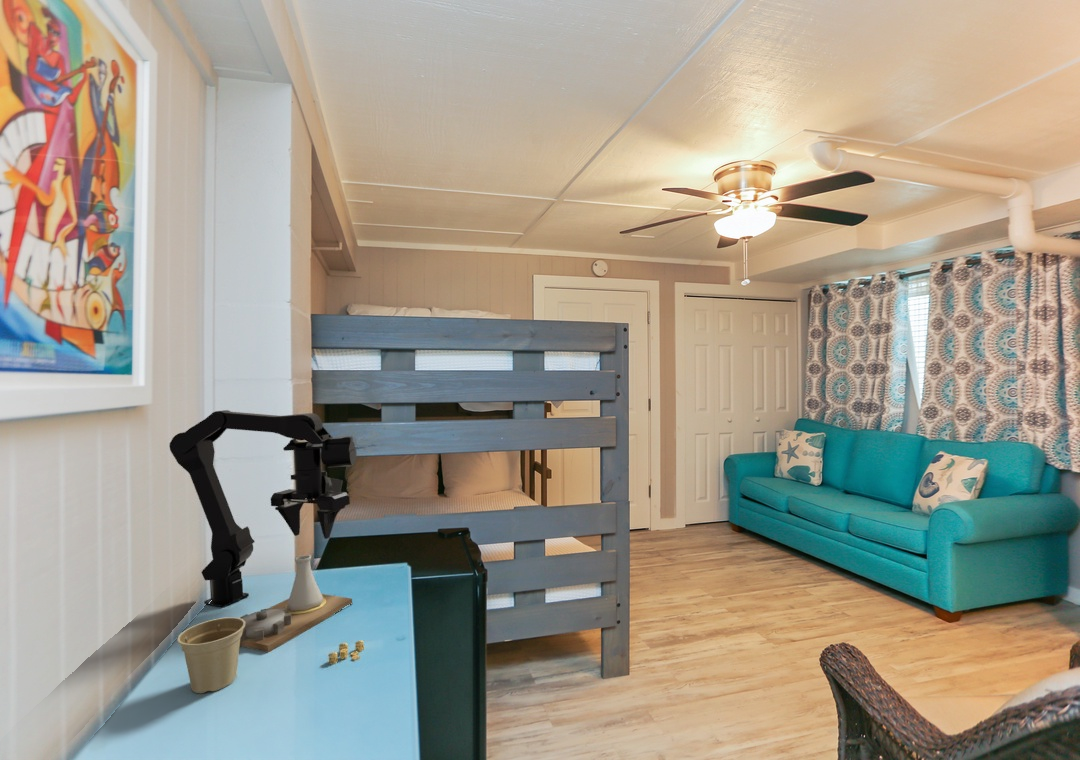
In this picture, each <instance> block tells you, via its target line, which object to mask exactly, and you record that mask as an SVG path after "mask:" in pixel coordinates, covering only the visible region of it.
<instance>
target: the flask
mask: <svg viewBox="0 0 1080 760" xmlns="http://www.w3.org/2000/svg"><path fill="white" fill-rule="evenodd" d="M311 559H312V555H310V554H302V555H299V556H296V557H295V558H294V561H295V563H296V570H295V577H294V581H293V585H292V588H291V592H290V593H289V594H290V595H289V598H288V599H289V600H288V604H287V607H286V608H288V609H289V610H291V611H298V610H306V609H310V608H312V607H315V606H318V605H321V603H322V601H323V600H324V598H323V596H322V594H323V593H322V592H321V590H320V588H319V586H318V584H317V582H316V578H315V576H314V574H313V571H312V567H311Z"/></svg>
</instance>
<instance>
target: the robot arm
mask: <svg viewBox="0 0 1080 760" xmlns="http://www.w3.org/2000/svg"><path fill="white" fill-rule="evenodd" d="M323 425H324V424H323V421H322V419H321V417H320V416H319V415H318V414H316V413H311V412H309V413H297V414H287V415H275V414H263V413H253V412H252V413H251V412H242V411H241V412H240V411H238V412H237V411H231V410H227V409H226V410H217V411H213V412H212V413H211V414H209V415H208V416H207V417H205V419H203V420H201V421H199V422H198V423H196V424H195V425H193V426H191V427H190V428H188V429H187V430H185V431H184V432H179V433H177V434H175V435H174V436H173V437H172V439H171V441H170V442H169V451H170V452H171V454H172V456H173V458H174V459H175V461H176V462H177V464H178V465H179V466H181V468H182V469H184V470H185V471H186V472H187V473H188V474H189V477H190V479H191V482H192V484H193V486H194V489H195V493H196V495H197V497H198V499H199V503H200V505H201V507H202V509H203V513H204V515H205V518H206V520H207V522H208V526H209V528H210V530H211V540H210V550H211V555H212V560H210V562H209V563H208V564H207V565H206V566H205V567H204V568H203V569H202V570H201V575H202V578H203V579H204V581H209V591H210V592H209V593H210V598H209V599H208V598H207V599H205V600H204V601H203V603H204V604H205V605H209V604H208V603H209V602H210V601H211V600H212V601H211V602H210V604H212V605H211V606H215V607H219V608H224V607H227V606H228V605H231V604H233V603H235V602H238V601H241V600H242V599H245V598H247V597H249V596H250V594H249V592H244V591H243V590H244V588H243V577H242V571H241V568H242V567H244V566H246V562H247V560H248V559H249V558H250V557H251V556H252V554H253V552H254V545H253V544H254V543H256V542H255V539H253V538H252V536H251V530H250V527H249V526H244V527H243V528H241V526H239V525H238V524H237V523H236V521H235V519H234V516H233V514H232V511H231V509H230V508H231V507H230V505H229V503H228V500H227V497H226V496H225V495H226V494H225V493H224V490H223V488H222V484H221V481H220V480H219V477H218V474H217V471H216V470H215V465H214V463H215V462H214V461H215V448H214V446H215V445H214V442H216V440H218V439H219V438H221V436H222V435H223V433H225V432H226V431H227V430H239V431H249V432H250V431H251V432H263V433H274V434H277V435H280V436H282V437H285V438H289V439H290V440H289V442H288V444H286V445H285V446H284V447H283V451H284V452H285V451H293V465H294V467H293V468H294V474H290V480H294V486H295V489H285V490H282V491H278V492H274V493H272V496H271V497H270V506H271V507H274V509H275V511H278V513H279V514H280V515H281V517H282V519H283V520H284V521H285V522H286V524H287V527H289V529H290V531H291V532H292V534H293V535H294V536H295V537H297V536H299V535H300V531H301V530H300V529H301V509H302V507H303V506H304V505H305V504H316V506H317V508H318V509H319V510H316V512H317V516H318V521H319V525H320V527H321V533H322V534H323V539H326V540H327V539H329V538H330V537H331V533H332V530H333V527H334V524H335V521H336V518H337V516H338V514H339V512H340V511H341V510H343V509H345V508H346V506H348V505H350V503H351V501H350V499H351V498H350V495H349V494H348V492H346V491H342V486H343V482H344V481H343V480H342V479H337V478H332V477H328V472H327V471H326V470H323V465H326V467H327V468H341V467H343V468H344V467H353V466H354V467H355V466H356V463H357V449H356V446H355V443H354V440H353V436H352V435H349V436H344V437H333V435H331V434H330V432H329V431H328V430H327V429H326V428H325V427H324V426H323ZM322 464H323V465H322Z"/></svg>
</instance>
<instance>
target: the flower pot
mask: <svg viewBox="0 0 1080 760" xmlns="http://www.w3.org/2000/svg"><path fill="white" fill-rule="evenodd" d="M244 627H245V621H244V620H243V619H241V618H240V617H233V616H232V617H231V616H230V617H229V616H228V617H220V618H215V619H211V620H210V619H209V620H206V621H203V622H200V623H198V624H194V625H193V626H190V627H188V628H187V629H185V630H184V631H181V633H180V634H179V635H178V636H177V639H176V641H177V643H178V644H179V645H180V648H181V651H182V652H183V654H184V659H185V663H186V669H187V673H188V677H189V681H190V687H191V690H192V692H193V693H196V694H205V693H206V692H217V691H220V690H222V689H223V688H226V687H228V686H229V685H231V684H232V683H233V682H234V681H235V678H236V677H237V673H238V662H239V653H240V646H239V645H240V637H241V636H242V632H243V629H244Z"/></svg>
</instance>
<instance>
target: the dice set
mask: <svg viewBox="0 0 1080 760" xmlns="http://www.w3.org/2000/svg"><path fill="white" fill-rule="evenodd" d="M354 645H355V646H354V647H355V650H354V651H353V652H351V653H350V656H351V655H352V656H351V660H352V661H354V662H357V661H358V660H360V659H361V656H359V654H360V652H363V651H364V650H365V643H364V640H362V639H360V640H358V641H355V643H354ZM348 646H349V645H348V643H347V642H342V643H340V644H339V645H338V652H339V656H338V652H336V651H334V652H329V654H328V664H329V665H334V664H335V665H336V664H337V663H338V661H339V657H340V660H341V659H342V660H346V659H345V658H347V659H348V656H349V649H348V648H349V647H348ZM362 650H363V651H362ZM356 651H357V652H356ZM336 662H337V663H336Z"/></svg>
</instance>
